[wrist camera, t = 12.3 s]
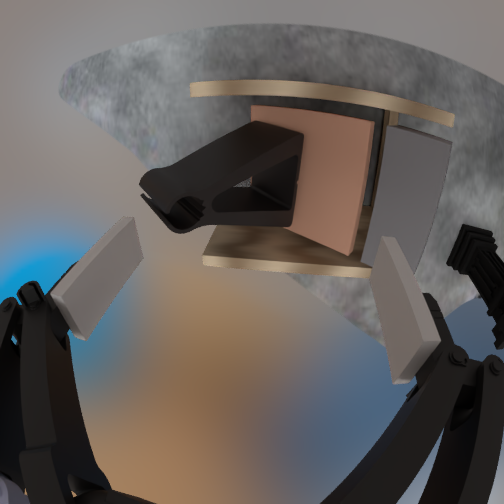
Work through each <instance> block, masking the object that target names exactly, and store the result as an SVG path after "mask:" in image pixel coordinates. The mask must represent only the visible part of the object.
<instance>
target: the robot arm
mask: <svg viewBox="0 0 504 504" xmlns="http://www.w3.org/2000/svg"><path fill="white" fill-rule="evenodd" d="M142 259H143V254H142V250H141V246H140V242H139V237H138V233H137V229H136V225H135V220H134V217H122V218H121V219H120V220H119V221H118V222H117V223H116V224H115V225H114V226H113V227H112V228H111V229H110V230H109V231H108V232H107V233H106V234H105V235H104V236H103V237H102V238H101V239H100V240H99V241H98V242H97V243H96V244H95V245H94V246H93V247H92V248H91V249H90V250H89V251H88V252H87V253H86V254H85V255H84V256H83V257H82V258H81V259H80V260H79V261H77V262H76V263H74V264H73V265H71V267H70V268H69V269H68V270H67V271H66V273H64V274H63V275H62V276H61V278H60V279H59V280H58V281H57V282H56V283H55V284H54V286H53V287H52V288H51V289H50V290H49V291H48V293H47V294H46V295H44V293H43V291H42V289H41V287H40V285H39V283H38V282H37V281H30V282H27V283H25V284H24V285H23V286H21V288H20V289H19V290H18V292H17V296H18V298H19V300H20V302H21V303H22V305H19V304H18V302H17V300H16V298H14V297H9V298H7V299H5V300H4V301H3V302H2V303H1V304H0V504H156V503H153V502H150V501H147V500H144V499H142V498H139V497H135V496H132V495H128V494H125V493H121V492H118V491H115V490H112V488H111V486H110V483H109V482H108V479H107V478H106V476H105V474H104V473H103V472H102V471H101V470H100V468H99V467H98V465H97V463H96V461H95V458H94V455H93V452H92V449H91V446H90V442H89V439H88V435H87V432H86V428H85V425H84V420H83V416H82V413H81V408H80V404H79V399H78V394H77V389H76V383H75V377H74V371H73V365H72V357H71V349H70V340H69V336H68V334H67V332H68V330H69V329H70V330H71V331H72V333H73V335H74V336H75V337H76V338H79V339H82V340H85V341H87V340H88V338H89V336H90V335H91V333H92V332H93V330H94V328H95V327H96V325H97V324H98V322H99V321H100V319H101V317H102V316H103V315H104V313H105V312H106V310H107V309H108V307H109V306H110V304H111V303H112V301H113V300H114V298H115V297H116V295H117V294H118V292H119V291H120V290H121V288H122V287H123V285H124V284H125V282H126V281H127V280H128V278H129V277H130V276H131V274H132V273H133V271H134V270H135V269H136V267H137V266H138V265H139V263H140V262H141V260H142ZM369 281H370V284H371V288H372V291H373V295H374V299H375V303H376V307H377V310H378V315H379V319H380V323H381V327H382V331H383V336H384V341H385V345H386V350H387V354H388V360H389V366H390V371H391V377H392V382H393V384H404V383H409V382H410V381H411V380H412V379H413V377H414V376H416V380H417V384H416V385H415V386H414V388H412V390H411V391H410V392H409V393H408V394H407V395H406V396H407V399H406V401H405V402H404V404H403V405H402V407H401V408H400V410H399V411H398V413H397V414H396V416H395V418H394V419H393V420H392V422H391V423H390V425H389V426H388V427H387V429H386V430H385V431H384V433H383V434H382V436H381V437H380V438H379V439H378V441H377V442H376V443H375V445H374V446H373V447H372V448H371V450H370V451H369V452H368V453H367V454H366V456H365V457H364V458H363V459H362V460H361V462H360V463H359V464H358V465H357V466H356V467H355V469H354V470H353V471H352V472H351V473H350V474H349V475H348V476H347V477H346V479H344V480H343V482H342V483H341V484H340V485H339V486H338V487H337V488H336V489H335V490H334V491H333V492H332V493H331V494H330V495H329V496H328V497H326V498H325V499H324V500H323V501H322V502H321V503H320V504H396V503H397V502H398V500H399V499H400V498H401V496H402V495H403V494H404V492H405V491H406V490H407V488H408V487H409V485H410V484H411V483H412V481H413V480H414V478H415V477H416V475H417V474H418V472H419V471H420V469H421V467H422V466H423V464H424V463H425V461H426V459H427V458H428V455H429V454H430V452H431V450H432V449H433V447H434V445H435V444H436V441H437V440H438V438H439V436H440V434H441V432H442V430H443V428H444V431H443V435H442V439H441V443H440V446H439V449H438V452H437V456H436V459H435V462H434V465H433V468H432V471H431V473H430V476H429V479H428V481H427V484H426V486H425V489H424V491H423V493H422V496H421V498H420V500H419V503H418V504H487V503H488V500H489V496H490V493H491V489H492V486H493V482H494V479H495V474H496V470H497V466H498V461H499V456H500V450H501V444H502V437H503V429H504V363H503V361H502V360H501V359H500V358H499V357H497V356H496V355H488V356H487V357H486V358H485V360H484V361H483V362H480V361H476V360H472V359H469V357H468V354H467V353H466V351H465V350H464V349H463V348H461V347H460V346H457V345H455V344H454V342H453V339H452V337H451V334H450V331H449V329H448V327H447V324H446V322H445V319H443V318H444V317H443V314H442V312H440V311H441V310H440V308H439V305H438V303H437V301H436V300H435V299H434V298H433V297H432V296H431V294H430V293H422V292H421V289H420V287H419V285H418V283H417V280H416V278H415V276H414V274H413V272H412V270H411V268H410V266H409V264H408V262H407V260H406V258H405V256H404V254H403V252H402V250H401V248H400V246H399V244H398V242H397V240H396V238H395V237H387V236H382V237H381V240H380V244H379V248H378V251H377V255H376V258H375V261H374V265H373V268H372V271H371V274H370V277H369ZM12 335H13V336H14V337H15V339H16V340H17V343H16V345H15V344H14V343H13V341H12V340H11V338H12ZM444 426H445V427H444ZM25 488H26V492H27V495H28V496H27V495H25V494H24V493H25ZM71 491H73V492H74V493H76V495H77V496H76V497H73V495H72V492H71Z"/></svg>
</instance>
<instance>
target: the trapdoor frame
mask: <svg viewBox="0 0 504 504" xmlns="http://www.w3.org/2000/svg"><path fill="white" fill-rule="evenodd" d="M223 95H271V96H291V97H305V98H315V99H325V100H333V101H340V102H347V103H354V104H360V105H366V106H371V107H376V108H381V109H385V115H384V124H383V133H382V141H381V148H380V155H379V162H378V168H377V174H376V180H375V186H374V191H373V196H372V202H371V206H363V205H362V210H361V215H360V220H359V225H358V229H357V234H356V238H355V243H354V247H353V251H352V252H351V253H350V254H349V255H348V256H347V255H345V254H343V253H341V252H338V251H336V250H334V249H332V248H329V247H327V246H325V245H323V244H320V243H318V242H316V241H313V240H311V239H309V238H306V237H304V236H302V235H300V234H297V233H295V232H293V231H290V230H288V229H285V228H283V227H267V226H239V225H217V226H216V228H215V231H214V232H213V235H212V237H211V238H210V240H209V243H208V245H207V247H206V249H205V251H204V253H203V255H202V257H203V265H206V266H216V267H227V268H239V269H251V270H262V271H275V272H287V273H300V274H314V275H328V276H342V277H357V278H369V277H370V274H371V271H372V268H373V267H371V266H369V265H367V264H365V263H363V262H361V258H362V254H363V250H364V246H365V242H366V238H367V234H368V230H369V226H370V221H371V217H372V212H373V208H374V203H375V198H376V193H377V187H378V182H379V176H380V171H381V165H382V158H383V151H384V144H385V137H386V129H387V126H389V125H397V124H398V115H399V113H404V114H408V115H411V116H415V117H419V118H423V119H426V120H430V121H433V122H436V123H440V124H443V125H446V126H449V127H452V128H453V123H454V115H455V114H452V113H449V112H446V111H444V110H441V109H438V108H434V107H431V106H428V105H425V104H421V103H418V102H414V101H411V100H407V99H403V98H399V97H395V96H391V95H386V94H382V93H377V92H372V91H367V90H362V89H356V88H350V87H343V86H336V85H329V84H320V83H310V82H298V81H282V80H222V81H205V82H193V83H190V97H203V96H223Z"/></svg>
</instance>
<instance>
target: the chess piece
mask: <svg viewBox="0 0 504 504" xmlns="http://www.w3.org/2000/svg"><path fill="white" fill-rule="evenodd" d="M492 235H493V233H492V232H491V231H488V230H485V229H481V228H477V227H473V226H469V225H465V224H462V227H461V230H460V232H459V235H458V237H457V240H456V242H455V244H454V247H453V249H452V251H451V254H450V256H449V258H448V260H447V262H446V264H447V265H448V266H452V268H453V269H454V270H458V271H459V273H460V274H465V275H468V276H469V277H470V279H471V280H472V282H473V283H474V285H475V287H476V288H477V290H478V292H479V293H480V295H481V297H482V298H483V300H484V302H485V303H486V305H487V307H488V311H487V314H488V316H493V318H494V320H495V322H496V325H495V327H494V328H493V329H492V332H493V334H494V336H495V338H496V341H495V342H494V345H495V347H496V349H497V350H498V349H503V348H504V262H503V261H502V260H501V259H500V257H499V256H498V255H497V254H496V250H497V247H498V246H497V245H496V244H494V242H495V239H494V238H493V237H492Z"/></svg>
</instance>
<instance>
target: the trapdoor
mask: <svg viewBox="0 0 504 504" xmlns="http://www.w3.org/2000/svg"><path fill="white" fill-rule="evenodd" d="M255 120H257V121H261V122H264V123H268V124H272V125H276V126H279V127H283V128H286V129H290V130H293V131H297V132H300V133H303V134H304V142H303V150H302V158H301V165H300V173H299V180H298V181H297V184H298V187H297V194H296V201H295V208H294V215H293V221H292V225H291V226H290V227H283V228H285V229H288V230H290V231H293V232H295V233H297V234H300V235H302V236H304V237H306V238H309V239H311V240H313V241H316V242H318V243H320V244H323V245H325V246H327V247H329V248H332V249H334V250H336V251H338V252H341V253H343V254H345V255H347V256H348V255H349V254H350V253H351V252H352V251H353V247H354V243H355V238H356V234H357V229H358V225H359V220H360V215H361V210H362V205H363V200H364V194H365V188H366V183H367V177H368V170H369V164H370V157H371V149H372V142H373V133H374V124H375V122H374V121H369V120H365V119H360V118H355V117H350V116H345V115H339V114H333V113H327V112H321V111H314V110H306V109H298V108H289V107H278V106H266V105H251V122H252V121H255ZM451 148H452V142H451V141H448V140H445V139H442V138H439V137H436V136H433V135H430V134H427V133H424V132H421V131H418V130H414V129H411V128H407V127H404V126H400V125H389V126H387V129H386V137H385V144H384V151H383V158H382V165H381V171H380V176H379V182H378V187H377V193H376V198H375V203H374V208H373V212H372V217H371V221H370V226H369V230H368V234H367V238H366V242H365V246H364V250H363V254H362V258H361V262H363V263H365V264H367V265H369V266H371V267H373V265H374V261H375V258H376V255H377V251H378V248H379V244H380V240H381V237H382V236H387V237H395V238H396V240H397V242H398V244H399V246H400V248H401V250H402V252H403V254H404V256H405V258H406V260H407V262H408V264H409V266H410V268H411V270H412V272H413V274H415V271H416V269H417V267H418V264H419V262H420V259H421V257H422V254H423V251H424V248H425V246H426V243H427V240H428V237H429V234H430V231H431V228H432V225H433V222H434V218H435V215H436V212H437V208H438V205H439V201H440V197H441V193H442V189H443V185H444V181H445V177H446V173H447V168H448V163H449V158H450V153H451ZM251 183H252V177H251Z"/></svg>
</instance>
